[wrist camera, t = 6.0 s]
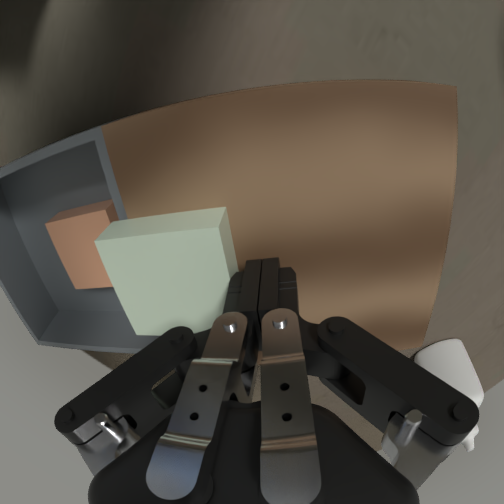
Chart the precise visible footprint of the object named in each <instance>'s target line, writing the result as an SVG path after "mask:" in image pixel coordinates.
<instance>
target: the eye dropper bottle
mask: <svg viewBox="0 0 504 504" xmlns="http://www.w3.org/2000/svg"><path fill="white" fill-rule="evenodd" d="M414 362H415V363H417V364H418V365H420V366H421V367H423V368H424V369H426V370H427V371H429V372H430V373H432V374H433V375H435V376H437V377H438V378H440V379H441V380H443V381H444V382H446V383H447V384H449V385H450V386H452V387H453V388H455V389H457V390H458V391H460V392H461V393H463V394H464V395H466V396H467V397H469V398H470V399H472V400H473V401H474V402H475V403H476V405H477V407H479V406H480V404H481V403H482V401H483V398H484V393H483V389H482V387H481V384H480V381H479V379H478V377H477V374H476V372H475V370H474V367H473V365H472V363H471V360H470V358H469V356H468V354H467V352H466V350H465V348H464V345H463V343H462V341H461V340H459V339H448V340H443V341H440V342H437V343H434V344H432V345H430V346H428V347H426V348H424V349H422V350H420V351H419V352H418V353H416V355H415V359H414ZM478 432H479V429H478V426H477V424H476V426H475V427H474V428H473V429H472V431H471V432H470V433H469V434H468V435H467V436H466V438H465V439H464V440H463V441H462V442H461V444H463V445H464V447H465V449H466V451H467V452H469V451H471V450H473V449H474V437H475V436H476V434H477V433H478Z"/></svg>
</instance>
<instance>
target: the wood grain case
mask: <svg viewBox="0 0 504 504" xmlns="http://www.w3.org/2000/svg"><path fill="white" fill-rule="evenodd" d="M101 129H102V133H103V137H104V141H105V144H106V148H107V152H108V155H109V159H110V163H111V166H112V169H113V173H114V176H115V180H116V183H117V186H118V189H119V193H120V196H121V199H122V202H123V205H124V208H125V211H126V214H127V217H128V219H134V218H141V217H148V216H155V215H162V214H170V213H177V212H185V211H193V210H202V209H210V208H219V207H226V209H227V214H228V219H229V224H230V229H231V235H232V240H233V245H234V250H235V255H236V260H237V265H238V270H239V272H241V271H244V270H245V264H246V260H254V259H262V260H263V259H264V258H274V257H279V261H280V268H283V267H291V268H292V269H293V270H294V271H295V273H296V279H297V289H298V299H299V315H300V316H301V317H302V318H303V319H304V320H306V321H308V322H310V323H315V324H320V323H321V322H322V321H323V320H325V319H327V318H329V317H334V316H340V317H345V318H347V319H349V320H351V321H352V322H354V323H355V324H357V325H358V326H360V327H361V328H363V329H364V330H366V331H368V332H369V333H371V334H372V335H374V336H375V337H377V338H378V339H380V340H381V341H383V342H384V343H386V344H387V345H389V346H390V347H392V348H394V349H395V350H397V351H399V350H405V349H411V348H416V347H421V346H422V344H423V341H424V337H425V334H426V331H427V328H428V324H429V321H430V317H431V314H432V310H433V306H434V302H435V298H436V294H437V290H438V286H439V282H440V277H441V273H442V268H443V263H444V258H445V253H446V248H447V242H448V236H449V230H450V223H451V216H452V208H453V199H454V190H455V178H456V164H457V140H458V109H457V86H450V85H443V84H435V83H427V82H417V81H406V80H331V81H314V82H301V83H290V84H281V85H272V86H264V87H257V88H250V89H243V90H237V91H231V92H225V93H220V94H214V95H209V96H204V97H199V98H195V99H190V100H186V101H181V102H177V103H173V104H169V105H165V106H161V107H157V108H153V109H150V110H146V111H143V112H140V113H137V114H134V115H131V116H128V117H125V118H122V119H119V120H117V121H114V122H111V123H108V124H106V125H103V126H101ZM262 358H263V357H262V351H258V360H257V361H258V365H260V362H261V360H262Z"/></svg>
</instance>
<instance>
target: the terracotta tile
mask: <svg viewBox="0 0 504 504" xmlns="http://www.w3.org/2000/svg"><path fill="white" fill-rule="evenodd" d="M113 221H119V218H118V215H117V212H116V209H115V206H114V203H113V200H112V199H110V200H106V201H101V202H97V203H93V204H89V205H85V206H81V207H77V208H73V209H69V210H65V211H61V212H59V213H57V214H56V215H55V216H54V217H52V218H51V219H50V220H49V221H48V222H47V223H45V225H46V228H47V230H48V233H49V235H50V237H51V239H52V242H53V244H54V246H55V248H56V250H57V253H58V255H59V257H60V259H61V261H62V263H63V265H64V267H65V269H66V271H67V273H68V275H69V277H70V279H71V281H72V283H73V285H74V287H75V289H88V288H103V287H113V285H112V283H111V281H110V278H109V276H108V274H107V272H106V269H105V267H104V265H103V262H102V260H101V257H100V255H99V252H98V250H97V247H96V245H95V242H94V241H95V240H96V239H97V238H98V236H99V235H100V234H101V233H102V232H103V231H104V230H105V229H106V228H107V227H108V226H109V225H110V224H111V223H112V222H113Z"/></svg>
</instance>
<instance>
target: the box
mask: <svg viewBox="0 0 504 504" xmlns="http://www.w3.org/2000/svg"><path fill="white" fill-rule="evenodd" d="M139 113H140V112H139ZM136 114H137V113H136ZM132 115H134V114H132ZM129 116H131V115H129ZM126 117H128V116H126ZM123 118H125V117H123ZM119 119H122V118H119ZM119 119H116V120H113V121H110V122H107V123H104V124H101V125H98V126H95V127H93V128H90V129H87V130H84V131H82V132H79V133H76V134H74V135H71V136H69V137H66V138H64V139H61V140H59V141H56V142H54V143H51V144H49V145H47V146H45V147H42V148H40V149H38V150H35V151H33V152H31V153H29V154H27V155H25V156H23V157H20V158H18V159H16V160H14V161H12V162H10V163H8V164H6V165H4V166H2V167H1V168H0V285H1V287H2V289H3V291H4V292H5V294H6V296H7V298H8V299H9V301H10V303H11V304H12V306H13V307H14V309H15V311H16V312H17V314H18V315H19V317H20V319H21V320H22V322H23V323H24V325H25V326H26V328H27V329H28V331H29V332H30V334H31V335H32V337H33V338H34V340H35V341H36V342H37V344H38V345H45V346H53V347H61V348H71V349H80V350H91V351H103V352H117V353H134V354H136V353H138V352H139V351H140V350H142V349H143V348H145V347H146V346H147V345H149V344H150V343H151V342H153V341H154V340H155V339H157V338H158V337H160V336H157V335H136V333H135V331H134V329H133V327H132V325H131V323H130V321H129V319H128V317H127V315H126V313H125V311H124V309H123V307H122V305H121V303H120V300H119V298H118V296H117V294H116V292H115V290H114V287H103V288H88V289H75V287H74V285H73V283H72V281H71V279H70V277H69V275H68V273H67V271H66V269H65V267H64V265H63V263H62V261H61V259H60V257H59V255H58V253H57V250H56V248H55V246H54V244H53V242H52V239H51V237H50V235H49V233H48V230H47V228H46V225H45V223H47V222H48V221H49V220H50V219H51V218H52V217H54V216H55V215H56V214H57V213H59V212H61V211H65V210H69V209H73V208H77V207H81V206H85V205H89V204H93V203H97V202H101V201H106V200H110V199H112V200H113V203H114V206H115V209H116V212H117V215H118V218H119V221H120V220H127V219H128V217H127V214H126V211H125V208H124V205H123V202H122V199H121V196H120V193H119V189H118V186H117V183H116V180H115V176H114V173H113V169H112V166H111V163H110V159H109V155H108V152H107V148H106V144H105V141H104V137H103V133H102V129H101V126H103V125H106V124H108V123H111V122H114V121H117V120H119Z"/></svg>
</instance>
